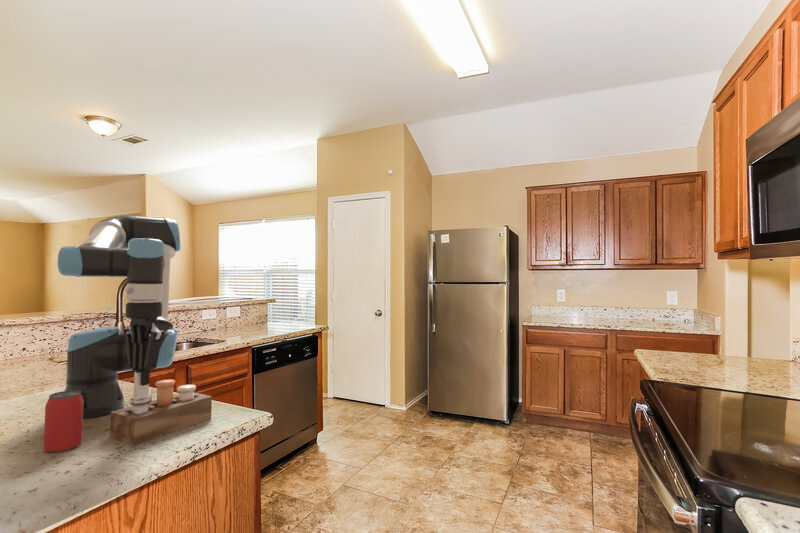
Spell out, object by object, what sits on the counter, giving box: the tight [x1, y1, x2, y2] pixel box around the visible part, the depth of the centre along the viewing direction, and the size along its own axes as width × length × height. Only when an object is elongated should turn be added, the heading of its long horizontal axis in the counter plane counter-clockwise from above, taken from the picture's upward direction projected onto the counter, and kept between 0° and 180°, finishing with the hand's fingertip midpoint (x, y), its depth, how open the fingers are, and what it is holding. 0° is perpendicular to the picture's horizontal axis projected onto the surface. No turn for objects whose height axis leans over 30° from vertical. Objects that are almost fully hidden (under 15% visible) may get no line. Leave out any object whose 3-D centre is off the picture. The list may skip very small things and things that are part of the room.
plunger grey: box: [129, 395, 153, 415], centre depth 95 cm, size 4×4×7 cm
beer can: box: [42, 390, 84, 453], centre depth 88 cm, size 7×7×12 cm
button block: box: [109, 392, 213, 446], centre depth 101 cm, size 10×20×6 cm, turn 154°
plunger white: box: [177, 384, 197, 401], centre depth 106 cm, size 4×4×7 cm
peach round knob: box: [154, 379, 176, 408], centre depth 101 cm, size 4×4×7 cm
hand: (141, 397), depth 95 cm, fingers closed
